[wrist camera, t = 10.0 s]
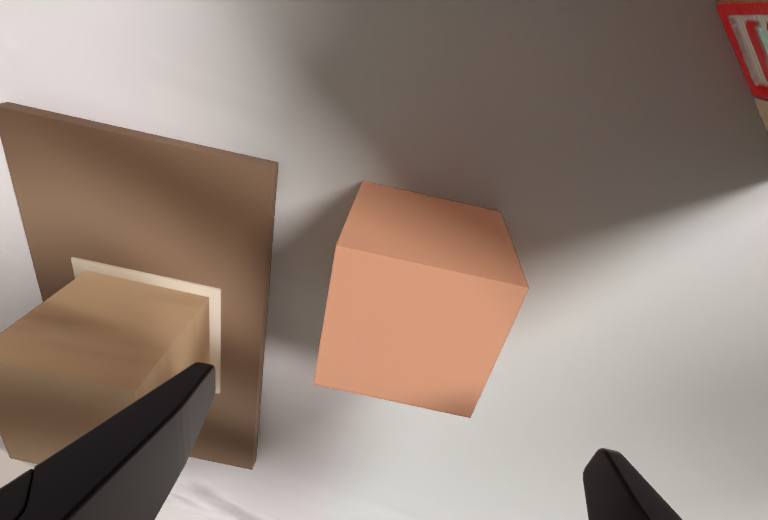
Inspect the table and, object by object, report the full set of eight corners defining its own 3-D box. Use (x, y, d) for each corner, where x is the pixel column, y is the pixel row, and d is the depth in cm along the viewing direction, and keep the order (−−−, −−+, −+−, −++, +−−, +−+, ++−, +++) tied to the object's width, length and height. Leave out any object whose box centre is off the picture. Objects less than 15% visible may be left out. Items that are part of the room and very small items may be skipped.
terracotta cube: (460, 319, 18) (470, 418, 13) (342, 293, 17) (313, 384, 13) (500, 211, 15) (529, 288, 11) (362, 180, 15) (336, 245, 11)
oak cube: (209, 383, 20) (148, 486, 15) (102, 360, 20) (10, 458, 15) (209, 297, 17) (134, 390, 13) (86, 270, 17) (-31, 355, 13)
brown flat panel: (256, 459, 23) (251, 471, 23) (84, 423, 23) (75, 434, 22) (278, 162, 15) (272, 168, 14) (8, 102, 15) (-11, 105, 14)
